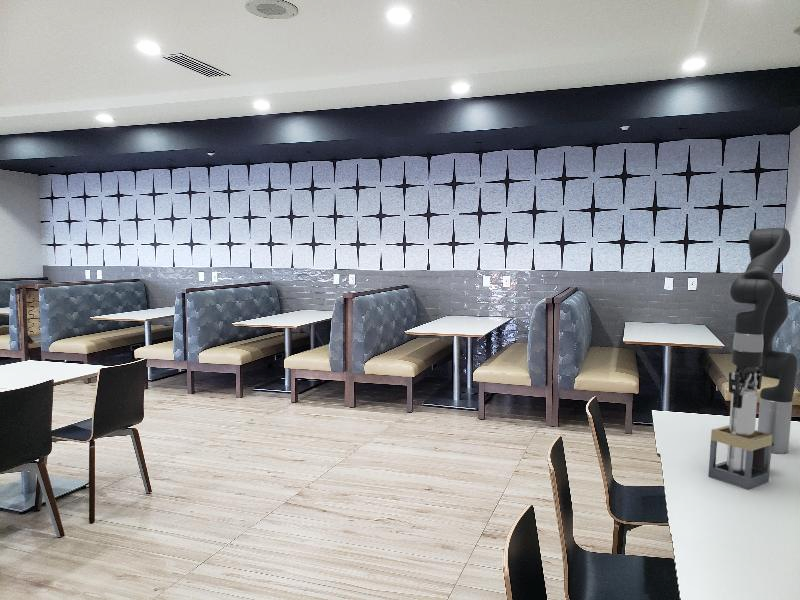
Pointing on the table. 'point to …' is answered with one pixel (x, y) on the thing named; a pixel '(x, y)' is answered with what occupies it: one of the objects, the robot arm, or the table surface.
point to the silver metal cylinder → (741, 430)
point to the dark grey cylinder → (759, 457)
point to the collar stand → (749, 445)
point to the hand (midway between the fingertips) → (743, 405)
